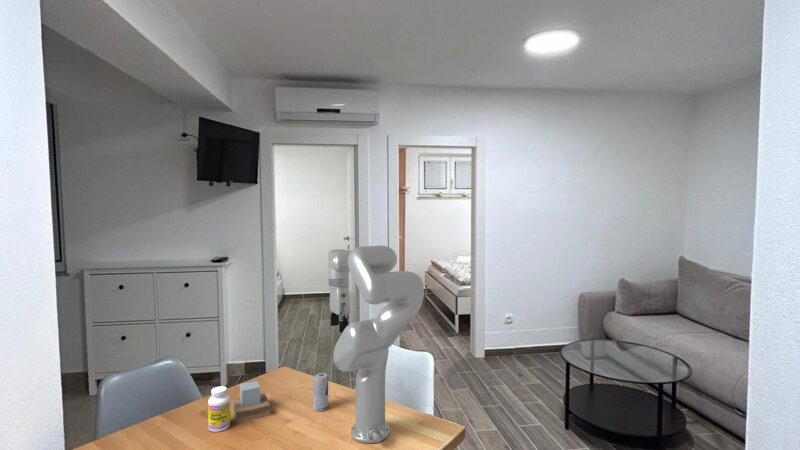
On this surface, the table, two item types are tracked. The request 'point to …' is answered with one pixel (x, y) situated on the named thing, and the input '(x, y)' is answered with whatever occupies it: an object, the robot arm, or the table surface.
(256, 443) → the table surface
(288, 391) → the table surface
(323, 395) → the energy drink
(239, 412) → the walnut block
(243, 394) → the slate cube
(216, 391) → the supplement bottle
